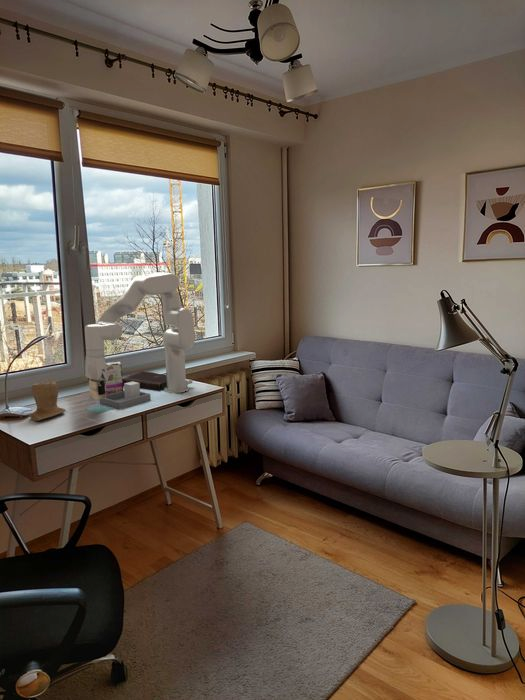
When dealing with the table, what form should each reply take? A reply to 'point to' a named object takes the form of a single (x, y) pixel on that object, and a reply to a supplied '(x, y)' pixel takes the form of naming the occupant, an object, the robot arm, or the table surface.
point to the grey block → (131, 390)
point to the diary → (148, 380)
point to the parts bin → (119, 400)
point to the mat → (99, 409)
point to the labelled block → (95, 390)
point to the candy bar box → (114, 378)
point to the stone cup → (45, 401)
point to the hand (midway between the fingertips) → (97, 392)
